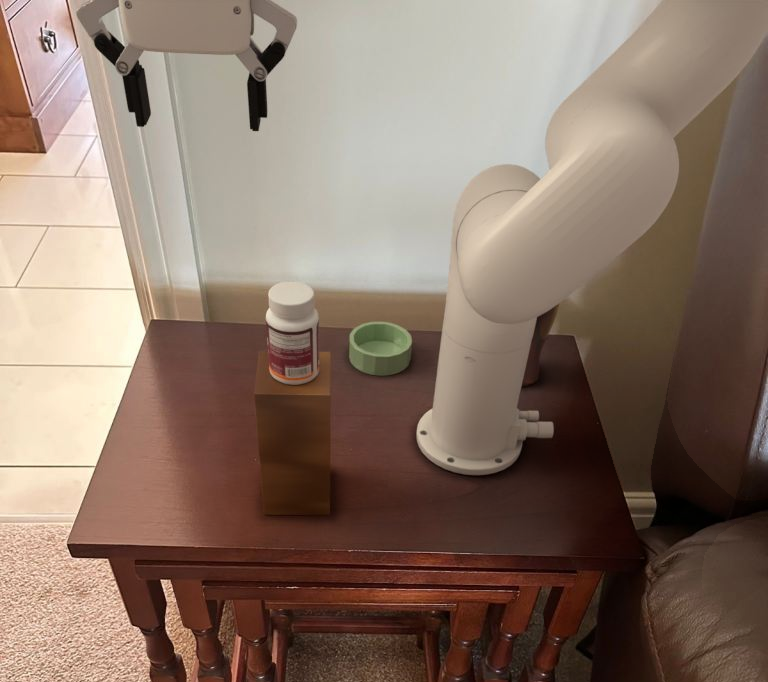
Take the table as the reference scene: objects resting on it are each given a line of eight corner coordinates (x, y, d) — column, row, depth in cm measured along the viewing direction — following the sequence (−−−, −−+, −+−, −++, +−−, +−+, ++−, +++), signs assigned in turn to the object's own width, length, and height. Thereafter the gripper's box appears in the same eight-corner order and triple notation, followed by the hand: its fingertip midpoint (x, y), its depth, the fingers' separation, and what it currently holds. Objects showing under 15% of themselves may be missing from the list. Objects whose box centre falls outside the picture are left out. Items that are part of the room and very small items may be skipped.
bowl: (408, 341, 107) (409, 322, 105) (412, 376, 102) (414, 357, 99) (348, 339, 107) (349, 320, 105) (349, 375, 101) (349, 355, 99)
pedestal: (330, 471, 88) (330, 351, 77) (329, 515, 83) (330, 394, 72) (268, 470, 88) (259, 350, 76) (264, 515, 83) (253, 393, 71)
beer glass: (540, 392, 100) (565, 288, 90) (486, 384, 101) (505, 279, 90) (543, 362, 105) (567, 259, 95) (492, 354, 106) (510, 251, 95)
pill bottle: (285, 351, 76) (282, 273, 70) (328, 366, 75) (328, 287, 69) (259, 376, 73) (253, 296, 67) (303, 392, 72) (301, 312, 66)
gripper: (295, -128, 59) (300, 112, 71) (61, -143, 58) (108, 104, 70) (291, -113, 54) (298, 143, 66) (34, -128, 53) (89, 136, 65)
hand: (200, 123), depth 68 cm, fingers open, 9 cm apart
